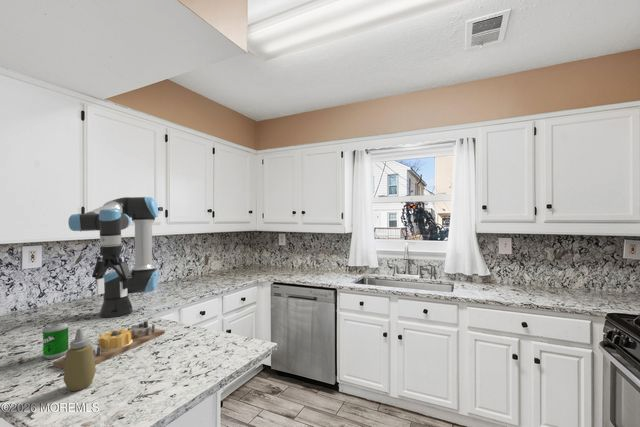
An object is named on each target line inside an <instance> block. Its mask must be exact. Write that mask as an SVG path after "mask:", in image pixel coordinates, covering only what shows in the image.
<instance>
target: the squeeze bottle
mask: <svg viewBox="0 0 640 427" xmlns="http://www.w3.org/2000/svg"><path fill="white" fill-rule="evenodd" d="M89 340H90V338H88V337H85V335H84V332H83V328H77V329H76V333H75V337H74V340H72V341H70V342H69V350H68V351H67V352H66V354H65V357H66V361H65V369H64V370H63V382H64V384H65V386H66V388H67V390H68V391H70V392H77V391H81V390H83V389H87V388H88V387H89V386H91V385H92V384H93V381H94V377H95V375H96V371H97V370H96V365H95V362H94V355H93V348H92V345H89V344H90V342H89Z"/></svg>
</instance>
